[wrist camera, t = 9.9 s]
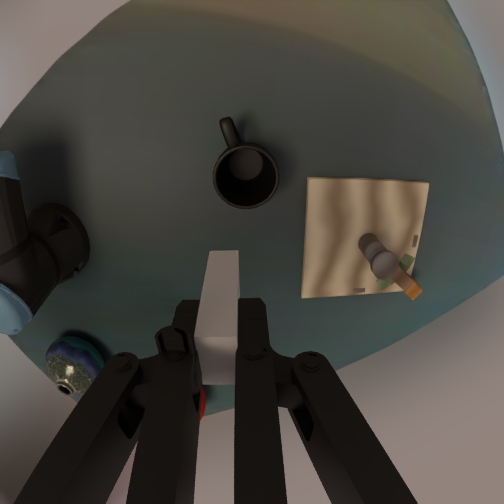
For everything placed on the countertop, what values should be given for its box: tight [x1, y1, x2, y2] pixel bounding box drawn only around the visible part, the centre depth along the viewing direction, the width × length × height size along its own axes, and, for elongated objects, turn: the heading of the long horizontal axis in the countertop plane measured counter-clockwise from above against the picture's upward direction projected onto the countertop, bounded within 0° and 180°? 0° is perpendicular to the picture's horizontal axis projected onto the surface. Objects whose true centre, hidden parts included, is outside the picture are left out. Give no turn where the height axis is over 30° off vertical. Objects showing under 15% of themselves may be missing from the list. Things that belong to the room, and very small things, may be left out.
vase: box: [45, 336, 105, 396], centre depth 57 cm, size 15×15×13 cm
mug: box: [213, 117, 279, 209], centre depth 40 cm, size 8×12×10 cm
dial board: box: [301, 177, 429, 298], centre depth 51 cm, size 22×22×1 cm
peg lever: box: [358, 233, 423, 300], centre depth 48 cm, size 15×4×8 cm, turn 51°
